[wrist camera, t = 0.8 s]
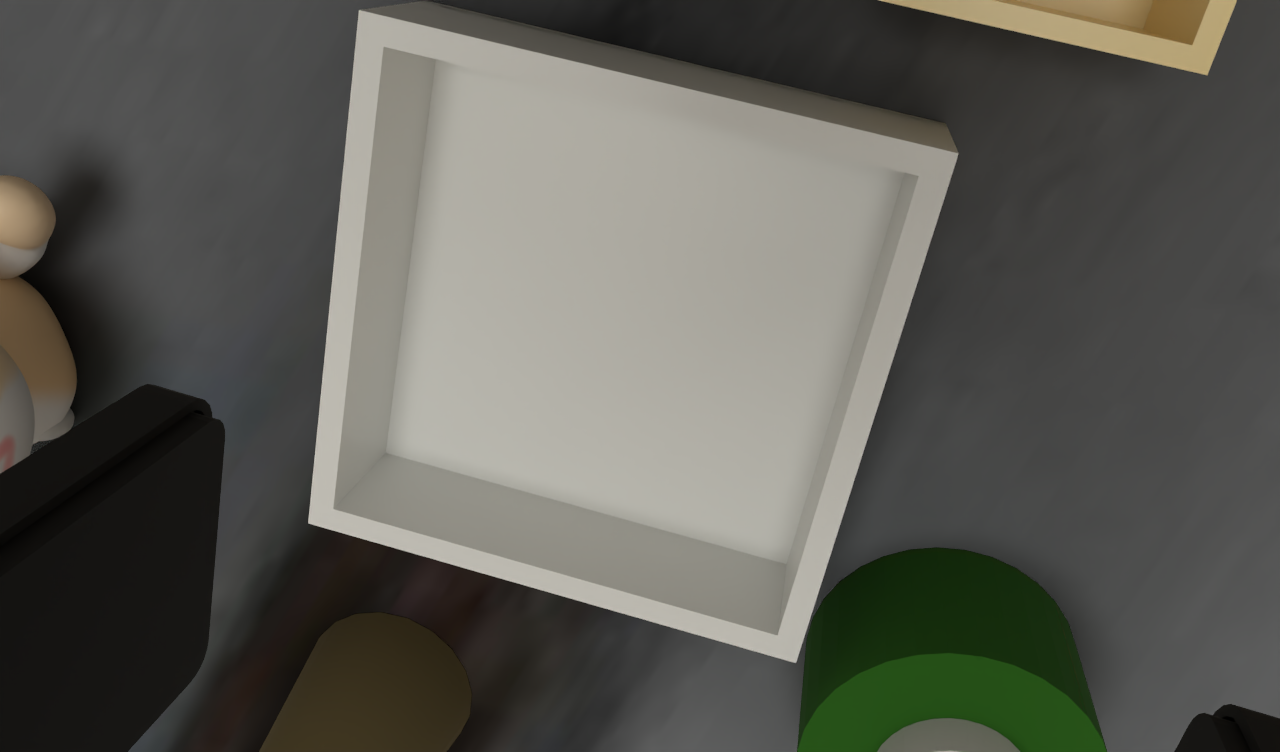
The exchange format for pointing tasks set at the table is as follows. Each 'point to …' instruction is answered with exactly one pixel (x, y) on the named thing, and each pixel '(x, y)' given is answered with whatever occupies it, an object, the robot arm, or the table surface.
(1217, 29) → the small crate
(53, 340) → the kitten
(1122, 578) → the table surface
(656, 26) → the table surface
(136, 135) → the table surface
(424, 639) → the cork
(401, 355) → the large crate
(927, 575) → the candle
